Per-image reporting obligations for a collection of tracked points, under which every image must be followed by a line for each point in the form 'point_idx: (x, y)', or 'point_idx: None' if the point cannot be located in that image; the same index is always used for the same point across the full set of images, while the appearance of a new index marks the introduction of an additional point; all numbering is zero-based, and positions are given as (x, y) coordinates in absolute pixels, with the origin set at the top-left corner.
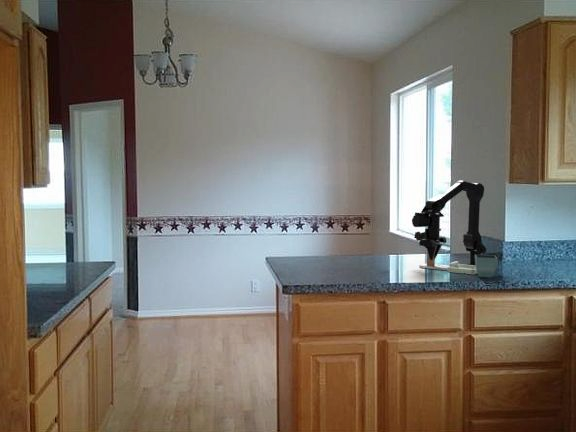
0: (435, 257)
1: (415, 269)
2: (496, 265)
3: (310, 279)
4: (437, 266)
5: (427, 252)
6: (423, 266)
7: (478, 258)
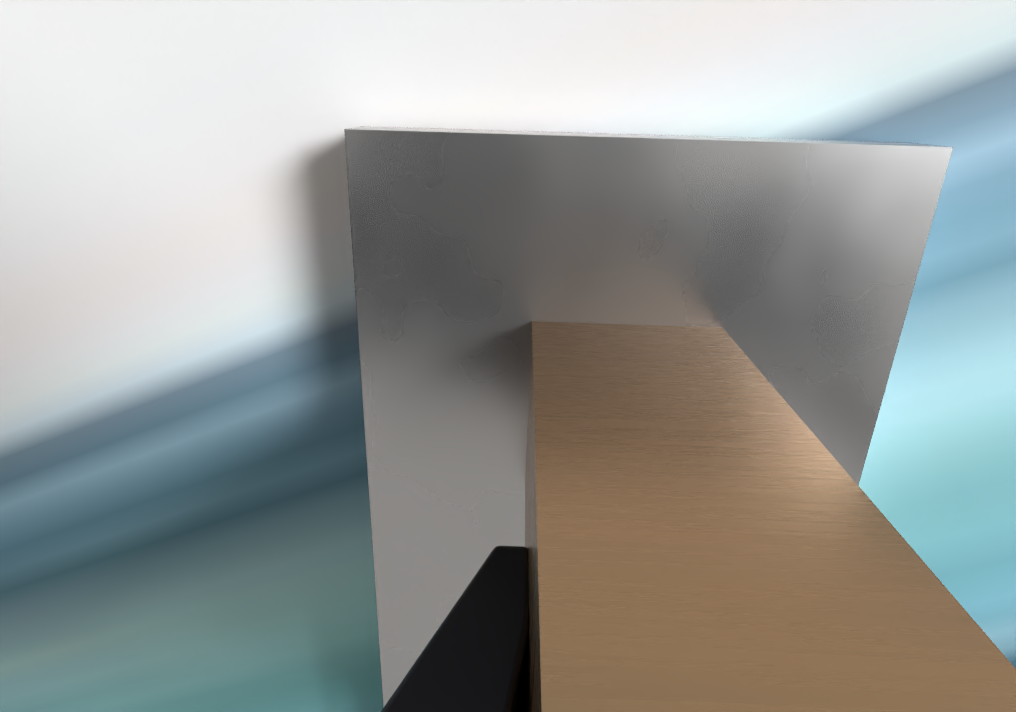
0: None
1: (37, 143)
2: None
3: None
4: None
5: (546, 682)
6: (362, 276)
7: None
